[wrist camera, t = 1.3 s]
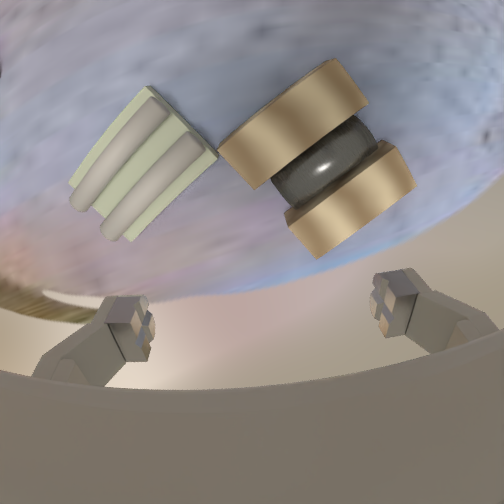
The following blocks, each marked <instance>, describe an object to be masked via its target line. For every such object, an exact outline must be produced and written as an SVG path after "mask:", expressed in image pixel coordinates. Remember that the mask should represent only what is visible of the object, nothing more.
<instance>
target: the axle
mask: <svg viewBox="0 0 504 504" xmlns="http://www.w3.org/2000/svg"><path fill="white" fill-rule="evenodd" d="M377 149H378V145H377V142H376V140H375V139H374V137H373V135H372V134H371V132H370V131H369V130H368V128H367V127H366V126H365V125H364V124H363V123H362V121H361V120H359V119H358V118H357V117H356V116H354V115H352V116H351V117H349V118H348V119H346V120H345V121H344V122H342V123H341V124H340V125H338V126H337V127H336V128H334V129H333V130H331V131H330V132H329V133H327V134H326V135H325V136H323V137H322V138H321V139H319V140H318V141H317V142H315V143H314V144H313V145H312V146H310V147H309V148H308V149H306V150H305V151H304V152H302V153H301V154H300V155H298V156H297V157H296V158H295V159H293V160H292V161H291V162H289V163H288V164H287V165H286V166H284V167H283V168H282V169H280V170H279V171H278V172H277V173H275V174H274V175H273V176H272V177H270V179H271V181H272V182H273V184H274V185H275V187H276V188H277V190H278V191H279V192H280V194H281V195H282V196H283V197H284V199H285V200H286V201H287V202H288V203H289V204H290V205H291V206H292V207H293V208H294V209H295V210H297V209H299V208H300V207H301V206H303V205H304V204H305V203H307V202H308V201H309V200H311V199H312V198H313V197H315V196H316V195H317V194H319V193H320V192H321V191H323V190H324V189H325V188H327V187H328V186H329V185H331V184H332V183H333V182H335V181H336V180H337V179H339V178H340V177H341V176H343V175H344V174H345V173H347V172H348V171H349V170H351V169H352V168H353V167H355V166H356V165H357V164H359V163H360V162H361V161H363V160H364V159H365V158H367V157H368V156H369V155H371V154H372V153H373V152H375V151H376V150H377Z"/></svg>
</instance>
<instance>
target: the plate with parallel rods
mask: <svg viewBox="0 0 504 504" xmlns="http://www.w3.org/2000/svg"><path fill="white" fill-rule="evenodd" d="M218 157H219V154H218V153H217V152H216V151H215V150H214V149H213V148H212V147H211V146H210V145H209V144H208V143H207V142H206V141H205V140H204V139H203V138H202V137H201V136H200V135H199V134H198V133H197V132H196V131H195V130H194V129H193V128H192V127H191V126H190V125H189V124H188V123H187V122H186V121H185V120H184V119H183V118H182V117H181V116H180V115H179V114H178V113H177V112H176V111H175V110H174V109H173V108H172V107H171V106H170V105H169V104H168V103H167V102H166V101H165V100H164V99H163V98H162V97H161V96H160V95H159V94H158V93H157V92H156V91H155V90H154V89H153V88H152V87H151V86H145V87H144V88H143V89H142V90H141V91H140V92H139V93H138V94H137V95H136V96H135V97H134V98H133V100H132V101H131V102H130V103H129V104H128V105H127V106H126V107H125V108H124V110H123V111H122V112H121V113H120V114H119V115H118V117H117V118H116V119H115V120H114V121H113V123H112V124H111V125H110V126H109V127H108V129H107V130H106V131H105V132H104V134H103V135H102V136H101V138H100V139H99V140H98V141H97V143H96V144H95V145H94V147H93V148H92V149H91V151H90V152H89V153H88V155H87V156H86V158H85V159H84V160H83V162H82V163H81V165H80V166H79V167H78V169H77V170H76V172H75V173H74V175H73V176H72V178H71V179H70V181H69V182H68V183H69V184H70V185H71V186H72V187H73V188H74V189H75V190H74V192H73V193H72V194H71V196H70V198H69V201H70V204H71V205H72V207H73V208H74V209H76V210H77V211H79V212H86V211H87V210H88V209H89V207H90V206H93V207H94V208H95V209H96V210H97V211H98V212H99V213H100V214H101V215H102V216H103V217H104V218H105V220H104V221H103V223H102V224H101V225H100V230H101V233H102V234H103V236H104V237H105V238H106V239H108V240H110V241H117V240H118V239H119V238H120V237H121V236H122V235H124V236H125V237H126V238H127V239H128V240H129V241H131V242H132V241H133V240H134V239H135V238H136V237H137V236H138V235H139V234H140V233H141V232H142V231H143V229H144V228H145V227H146V226H147V225H148V224H149V223H150V222H151V221H152V220H153V219H154V218H155V217H156V216H157V215H158V214H159V213H160V212H161V211H162V210H163V209H164V208H165V207H166V206H167V205H168V204H169V203H171V202H172V201H173V200H174V199H175V198H176V197H177V196H178V195H179V194H180V193H181V192H182V191H183V190H184V189H185V188H186V187H187V186H188V185H189V184H190V183H192V182H193V181H194V180H195V179H196V178H197V177H198V176H199V175H200V174H201V173H202V172H204V171H205V170H206V169H207V168H208V167H209V166H210V165H211V164H212V163H214V162H215V161H216V160H217V159H218Z"/></svg>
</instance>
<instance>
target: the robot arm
mask: <svg viewBox="0 0 504 504" xmlns="http://www.w3.org/2000/svg"><path fill="white" fill-rule="evenodd" d="M373 285H374V286H375V289H374V290H373V291H372V293H371V295H370V309H371V313H372V315H373V317H374V318H375V319H377V320H379V321H380V322H379V328H380V330H381V331H382V333H383V335H384V337H385V338H390V337H395V336H401V335H406V336H407V337H408V338H409V339H411V340H413V341H414V342H415V343H416V344H418V345H419V346H421V347H422V348H423V349H425V350H426V351H427V352H429V353H430V355H426V356H423V357H419V358H416V359H413V360H409V361H405V362H401V363H398V364H393V365H389V366H385V367H381V368H376V369H371V370H366V371H362V372H357V373H351V374H346V375H341V376H335V377H329V378H323V379H317V380H310V381H303V382H296V383H288V384H278V385H269V386H260V387H259V386H258V387H246V388H231V389H211V390H210V389H209V390H149V389H128V388H113V387H104V386H105V385H106V384H107V383H108V382H109V381H110V379H112V377H113V376H114V375H115V374H116V373H117V372H118V371H119V370H120V369H121V368H122V367H123V366H124V365H125V364H126V362H147V361H148V357H149V354H150V350H151V347H150V344H149V343H150V342H151V341H152V340H153V339H154V335H155V322H154V318H153V315H152V314H151V313H150V312H149V311H148V310H147V308H148V306H149V303H148V300H147V298H146V296H144V295H120V296H107V297H105V299H104V300H103V302H102V304H101V306H100V307H99V309H98V311H97V313H96V315H95V317H94V319H93V320H92V322H91V324H86V325H85V326H83V327H82V328H81V329H79V330H78V331H76V332H75V333H73V334H72V335H70V336H69V337H68V338H66V339H65V340H63V341H62V342H61V343H59V344H58V345H56V346H55V347H53V348H52V349H51V350H49V351H48V352H46V353H45V354H44V355H42V357H41V359H40V361H39V363H38V364H37V366H36V368H35V370H34V372H33V374H32V376H31V377H30V376H25V375H20V374H16V373H11V372H7V371H2V370H0V504H504V328H503V329H501V330H499V329H498V328H497V327H496V325H495V324H494V323H493V322H492V321H491V319H490V318H489V317H488V316H487V315H486V313H485V312H482V311H480V310H478V309H476V308H474V307H471V306H469V305H467V304H465V303H463V302H461V301H458V300H456V299H454V298H452V297H449V296H447V295H445V294H443V293H440V292H438V291H432V290H431V289H430V288H429V286H428V285H427V284H426V283H425V282H424V281H423V279H422V278H421V277H420V276H419V275H418V274H417V273H416V271H415V270H414V269H412V268H407V269H400V270H396V271H389V272H383V273H376V274H375V275H374V278H373Z"/></svg>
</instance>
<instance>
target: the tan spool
mask: <svg viewBox="0 0 504 504" xmlns="http://www.w3.org/2000/svg"><path fill="white" fill-rule="evenodd" d="M367 104H369V102H368V101H367V99H366V98H365V96H364V95H363V94H362V92H361V91H360V89H359V88H358V86H357V85H356V84H355V82H354V81H353V80H352V78H351V77H350V76H349V74H348V73H347V72H346V70H345V69H344V68H343V66H342V65H341V64H340V62H339V61H338V60H337V59H336V58H334V59H331V60H327V61H325V62H323V63H322V64H321V65H319V66H318V67H316V68H315V69H313V70H312V71H311V72H309V73H308V74H306V75H305V76H304V77H302V78H301V79H299V80H298V81H297V82H295V83H294V84H293V85H291V86H290V87H289V88H287V89H286V90H285V91H283V92H282V93H281V94H279V95H278V96H277V97H275V98H274V99H273V100H271V101H270V102H269V103H268V104H266V105H265V106H264V107H263V108H261V109H260V110H259V111H258V112H256V113H255V114H254V115H253V116H251V117H250V118H249V119H248V120H247V121H245V122H244V123H243V124H242V125H241V126H239V127H238V128H237V129H236V130H235V131H233V132H232V133H231V134H230V135H229V136H228V137H226V138H225V139H224V140H223V141H222V142H221V143H220V144H219V146H218V148H217V151H218V152H219V153H220V154H221V155H222V156H223V157H224V158H225V159H226V161H227V162H228V163H229V164H230V165H231V166H232V167H233V168H234V169H235V170H236V171H237V172H238V173H239V174H240V175H241V176H242V177H243V179H244V180H245V181H246V182H247V183H248V184H249V185H250V186H251V187H252V188H253V189H254V190H255V189H257V188H258V187H259V186H260V185H262V184H263V183H264V182H265V181H267V180H268V179H269V178H270V177H272V176H273V175H274V174H275V173H277V172H278V171H279V170H280V169H282V168H283V167H284V166H286V165H287V164H288V163H289V162H291V161H292V160H293V159H295V158H296V157H297V156H298V155H300V154H301V153H302V152H304V151H305V150H306V149H308V148H309V147H310V146H312V145H313V144H314V143H315V142H317V141H318V140H319V139H321V138H322V137H323V136H325V135H326V134H327V133H329V132H330V131H331V130H333V129H334V128H336V127H337V126H338V125H340V124H341V123H342V122H344V121H345V120H346V119H348V118H349V117H351V116H352V115H353V114H355V113H356V112H357V111H359V110H360V109H362V108H363V107H364V106H366V105H367ZM377 145H378V149H377V150H376V151H375V152H373V153H372V154H371V155H369V156H368V157H367V158H365V159H364V160H363V161H361V162H360V163H359V164H357V165H356V166H355V167H353V168H352V169H351V170H349V171H348V172H347V173H345V174H344V175H343V176H341V177H340V178H339V179H337V180H336V181H335V182H333V183H332V184H331V185H329V186H328V187H327V188H325V189H324V190H323V191H321V192H320V193H319V194H317V195H316V196H315V197H313V198H312V199H311V200H309V201H308V202H307V203H305V204H304V205H303V206H301V207H300V208H299V209H297V210H295V209H294V208H293V207H291V208H290V209H289V210H288V211H286V212H285V213H284V215H285V218H286V222H287V225H288V228H289V229H290V230H291V231H292V232H293V233H294V234H295V236H296V237H297V238H298V239H299V240H300V241H301V242H302V244H303V245H304V246H305V247H306V248H307V249H308V250H309V252H310V253H311V254H312V255H313V256H314V257H315V258H316V260H317V259H318V258H320V257H321V256H323V255H324V254H326V253H327V252H328V251H330V250H331V249H333V248H334V247H335V246H337V245H338V244H340V243H341V242H342V241H344V240H345V239H347V238H348V237H349V236H351V235H352V234H354V233H355V232H356V231H358V230H359V229H360V228H362V227H363V226H364V225H366V224H367V223H369V222H370V221H371V220H373V219H374V218H375V217H377V216H378V215H379V214H381V213H382V212H383V211H385V210H386V209H387V208H389V207H390V206H391V205H393V204H394V203H395V202H397V201H398V200H399V199H401V198H402V197H403V196H405V195H406V194H407V193H409V192H410V191H411V190H412V189H414V188H415V187H416V186H417V185H416V183H415V181H414V179H413V177H412V175H411V173H410V171H409V169H408V167H407V165H406V163H405V162H404V160H403V158H402V156H401V154H400V153H399V151H398V149H397V147H396V146H394V145H392V144H390V143H388V142H386V141H384V140H381V141H379V142H378V143H377Z"/></svg>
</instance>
